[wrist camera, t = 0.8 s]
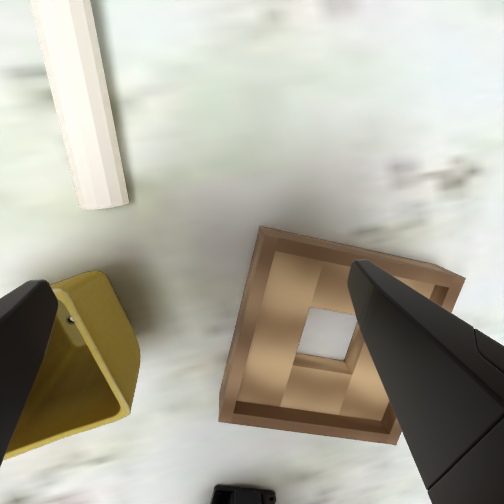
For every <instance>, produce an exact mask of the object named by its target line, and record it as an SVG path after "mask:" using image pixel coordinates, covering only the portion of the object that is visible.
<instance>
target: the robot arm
mask: <svg viewBox="0 0 504 504" xmlns="http://www.w3.org/2000/svg"><path fill="white" fill-rule="evenodd" d="M347 285H348V290H349V293H350V297H351V300H352V304H353V307H354V311H355V314H356V318H357V321H358V325H359V328H360V331H361V333H362V336H363V339H364V341H365V343H366V346H367V348H368V351H369V353H370V355H371V358H372V360H373V362H374V365H375V367H376V370H377V372H378V374H379V377H380V379H381V382H382V384H383V386H384V389H385V391H386V394H387V396H388V398H389V401H390V403H391V406H392V408H393V410H394V413H395V415H396V418H397V420H398V422H399V425H400V427H401V430H402V432H403V434H404V437H405V439H406V442H407V444H408V446H409V449H410V451H411V454H412V456H413V458H414V461H415V463H416V466H417V468H418V470H419V473H420V475H421V478H422V480H423V482H424V485H425V487H426V489H427V490H428V495H429V497H430V500H431V502H432V504H504V346H503V345H501V344H500V343H498V342H496V341H495V340H493V339H491V338H490V337H488V336H487V335H485V334H484V333H482V332H480V331H479V330H477V329H474V328H473V327H472V326H471V325H469V324H468V323H466V322H465V321H463V320H461V319H460V318H458V317H457V316H455V315H454V314H452V313H450V312H449V311H447V310H446V309H444V308H443V307H441V306H439V305H438V304H436V303H435V302H433V301H432V300H430V299H428V298H427V297H425V296H424V295H422V294H421V293H419V292H417V291H416V290H414V289H413V288H411V287H410V286H408V285H406V284H405V283H403V282H402V281H400V280H399V279H397V278H395V277H394V276H392V275H391V274H389V273H388V272H386V271H384V270H383V269H381V268H380V267H378V266H377V265H375V264H373V263H372V262H370V261H369V260H366V259H360V260H354V261H353V262H352V264H351V267H350V271H349V276H348V280H347ZM58 305H59V304H58V299H57V297H56V295H55V293H54V292H53V290H52V288H51V286H50V284H49V283H48V282H47V281H46V280H43V279H42V280H30V281H27V282H26V283H24V284H23V285H21V286H19V287H18V288H16V289H15V290H13V291H12V292H10V293H8V294H7V295H5V296H4V297H2V298H0V466H1V464H2V461H3V459H4V456H5V454H6V451H7V449H8V446H9V444H10V441H11V439H12V436H13V434H14V431H15V429H16V426H17V424H18V421H19V419H20V416H21V414H22V411H23V409H24V406H25V404H26V401H27V399H28V396H29V394H30V391H31V389H32V387H33V384H34V382H35V379H36V377H37V374H38V372H39V369H40V367H41V364H42V361H43V359H44V356H45V353H46V350H47V347H48V343H49V339H50V336H51V332H52V328H53V325H54V321H55V318H56V314H57V310H58ZM275 501H276V494H275V492H273V491H264V490H254V489H244V488H234V487H225V486H217V487H215V488H214V491H213V495H212V499H211V503H210V504H275Z"/></svg>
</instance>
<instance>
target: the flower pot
mask: <svg viewBox="0 0 504 504" xmlns="http://www.w3.org/2000/svg"><path fill="white" fill-rule="evenodd" d="M50 286H51V288H52V290H53V292H54V293H55V295H56V297H57V299H58V304H59V305H58V310H57V314H56V318H55V321H54V325H53V328H52V332H51V336H50V339H49V343H48V347H47V350H46V353H45V356H44V359H43V361H42V364H41V367H40V369H39V372H38V374H37V377H36V379H35V382H34V384H33V387H32V389H31V391H30V394H29V396H28V399H27V401H26V404H25V406H24V409H23V411H22V414H21V416H20V419H19V421H18V424H17V426H16V429H15V431H14V434H13V436H12V439H11V441H10V444H9V446H8V449H7V451H6V454H5V456H4V459H3V460H6V459H9V458H11V457H14V456H17V455H20V454H22V453H25V452H27V451H30V450H33V449H35V448H38V447H41V446H44V445H46V444H49V443H51V442H54V441H57V440H59V439H62V438H65V437H68V436H71V435H74V434H77V433H80V432H84V431H87V430H90V429H93V428H96V427H100V426H102V425H105V424H109V423H112V422H115V421H117V420H120V419H122V418H124V417H126V416H128V415H129V414H130V413H131V406H132V402H133V397H134V392H135V388H136V383H137V378H138V373H139V367H140V349H139V344H138V341H137V338H136V335H135V333H134V331H133V329H132V326H131V324H130V322H129V320H128V318H127V316H126V314H125V312H124V310H123V308H122V306H121V304H120V302H119V300H118V298H117V296H116V294H115V292H114V290H113V288H112V286H111V284H110V282H109V280H108V278H107V277H106V275H105V274H104V273H102V272H100V271H89V272H85V273H82V274H79V275H77V276H74V277H71V278H69V279H66V280H63V281H60V282H58V283H55V284H52V285H50ZM69 317H72V318H73V320H74V323H71V322H69V320H68V318H69Z"/></svg>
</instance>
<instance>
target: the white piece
mask: <svg viewBox="0 0 504 504" xmlns="http://www.w3.org/2000/svg"><path fill="white" fill-rule="evenodd" d="M29 1H30V6H31V10H32V14H33V18H34V22H35V26H36V30H37V34H38V38H39V43H40V47H41V51H42V55H43V59H44V63H45V67H46V71H47V75H48V80H49V84H50V88H51V92H52V96H53V100H54V104H55V108H56V112H57V116H58V121H59V125H60V129H61V133H62V137H63V141H64V145H65V149H66V153H67V158H68V162H69V166H70V170H71V174H72V178H73V182H74V186H75V190H76V195H77V199H78V203H79V207H80V209H83V210H92V209H104V208H112V207H117V206H122V205H126V204H129V199H128V194H127V189H126V183H125V178H124V173H123V168H122V163H121V157H120V152H119V147H118V142H117V137H116V131H115V126H114V121H113V116H112V111H111V105H110V100H109V95H108V90H107V85H106V80H105V74H104V69H103V64H102V59H101V54H100V48H99V43H98V38H97V33H96V28H95V22H94V17H93V12H92V7H91V2H90V0H29Z"/></svg>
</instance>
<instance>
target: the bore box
mask: <svg viewBox="0 0 504 504" xmlns="http://www.w3.org/2000/svg"><path fill="white" fill-rule="evenodd" d="M360 259H366V260H369V261H370V262H372V263H373V264H375V265H377V266H378V267H380V268H381V269H383V270H384V271H386V272H388V273H389V274H391V275H392V276H394V277H395V278H397V279H399V280H400V281H402V282H403V283H405V284H406V285H408V286H410V287H411V288H413V289H414V290H416V291H417V292H419V293H421V294H422V295H424V296H425V297H427V298H428V299H430V300H432V301H433V302H435V303H436V304H438V305H439V306H441V307H443V308H444V309H446V310H447V311H449V312H450V313H451V312H452V310H453V308H454V305H455V303H456V300H457V298H458V296H459V293H460V291H461V288H462V286H463V284H464V281H465V279H466V278H464V277H462V276H460V275H458V274H455V273H453V272H451V271H449V270H447V269H444V268H442V267H440V266H438V265H435V264H430V263H426V262H421V261H417V260H412V259H407V258H403V257H398V256H394V255H389V254H385V253H380V252H376V251H371V250H367V249H362V248H357V247H353V246H348V245H344V244H339V243H335V242H330V241H326V240H321V239H317V238H312V237H308V236H303V235H298V234H294V233H289V232H285V231H280V230H276V229H271V228H267V227H262V226H260V228H259V232H258V236H257V240H256V244H255V248H254V252H253V256H252V261H251V265H250V269H249V273H248V277H247V281H246V285H245V289H244V294H243V298H242V302H241V306H240V310H239V314H238V318H237V322H236V327H235V331H234V335H233V339H232V343H231V347H230V351H229V356H228V360H227V364H226V368H225V372H224V376H223V380H222V384H221V389H220V395H219V422H224V423H231V424H239V425H247V426H254V427H262V428H270V429H277V430H285V431H293V432H300V433H308V434H316V435H323V436H331V437H339V438H346V439H354V440H362V441H369V442H377V443H385V444H392V445H396V444H397V441H398V439H399V437H400V434H401V432H402V430H401V427H400V425H399V422H398V420H397V418H396V415H395V413H394V410H393V408H392V406H391V403H390V401H389V398H388V396H387V394H386V391H385V389H384V386H383V384H382V382H381V379H380V377H379V374H378V372H377V370H376V367H375V365H374V362H373V360H372V358H371V355H370V353H369V351H368V348H367V346H366V343H365V341H364V339H363V336H362V333H361V331H360V328H359V325H358V322H357V325H356V328H355V331H354V334H353V337H352V340H351V342H350V345H349V348H348V351H347V354H346V357H345V360H344V361H339V360H333V359H327V358H321V357H315V356H309V355H303V354H297V353H296V352H297V348H298V345H299V342H300V338H301V335H302V332H303V328H304V325H305V322H306V318H307V315H308V312H309V308H310V307H314V308H319V309H325V310H330V311H335V312H341V313H346V314H351V315H356V314H355V311H354V307H353V304H352V300H351V297H350V293H349V290H348V285H347V280H348V276H349V271H350V267H351V264H352V262H353V261H354V260H360Z"/></svg>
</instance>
